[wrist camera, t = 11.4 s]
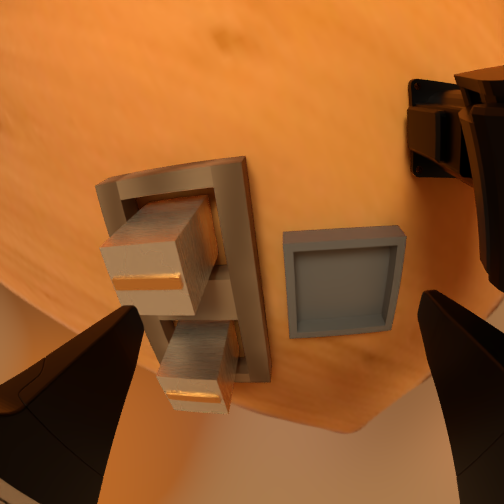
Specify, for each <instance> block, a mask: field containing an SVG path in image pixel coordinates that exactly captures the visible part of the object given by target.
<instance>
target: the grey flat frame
mask: <svg viewBox="0 0 504 504" xmlns="http://www.w3.org/2000/svg"><path fill="white" fill-rule="evenodd" d="M211 187H214V192H215V198H216V204H217V210H218V215H219V221H220V227H221V233H222V238H223V244H224V249H225V255H226V260H227V265H214V266H213V269H212V271H211V274H210V277H209V279H208V282H207V285H206V287H205V290H204V293H203V295H202V298H201V301H200V303H199V306H198V309H197V311H196V314H195V315H140V317H141V319H142V322H143V325H144V330H145V333H146V335H147V337H148V339H149V342H150V344H151V346H152V348H153V350H154V353H155V355H156V357H157V359H158V361H159V363H160V365H161V362H162V360H163V357H164V355H165V352H166V350H167V347H168V345H169V343H170V340H171V338H172V335H173V333H174V330H175V327H174V324H173V321H172V320H238V323H239V328H240V333H241V338H242V343H243V348H244V353H245V357H238V363H237V368H236V374H235V380H234V382H271V368H272V365H271V357H270V349H269V340H268V332H267V324H266V316H265V308H264V300H263V292H262V284H261V276H260V268H259V260H258V252H257V244H256V236H255V228H254V220H253V213H252V205H251V197H250V189H249V182H248V174H247V166H246V158H245V156H240V157H231V158H223V159H215V160H208V161H200V162H193V163H187V164H180V165H174V166H168V167H162V168H156V169H151V170H145V171H140V172H135V173H129V174H125V175H120V176H115V177H110V178H108V179H106V180H104V181H103V182H101V183H99V184H97V185H96V186H95V188H96V192H97V196H98V200H99V203H100V207H101V210H102V214H103V217H104V221H105V224H106V227H107V230H108V234H109V237H111V236H112V235H113V234H114V233H115V232H116V231H117V230H118V229H119V228H121V227H122V226H123V225H124V224H125V223H126V222H127V221H128V220H129V219H130V218H131V217H133V216H134V215H135V214H136V213H137V212H138V211H139V210H138V206H137V202H136V198H137V197H143V196H150V195H157V194H164V193H171V192H178V191H186V190H194V189H202V188H211Z"/></svg>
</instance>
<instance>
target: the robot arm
mask: <svg viewBox="0 0 504 504" xmlns="http://www.w3.org/2000/svg"><path fill="white" fill-rule="evenodd" d="M454 77H455V80H456V83H457V85H456V84H450V83H444V82H437V81H430V80H422V79H412V80H410V82H409V85H408V87H409V102H410V107H409V108H408V109H407V122H408V147H409V148H410V149H411V172H412V174H414V175H415V176H416V177H440V178H458V179H460V180H461V181H463V182H465V183H466V184H468V185H470V186H471V187H473V188H474V193H475V201H476V209H477V219H478V232H479V249H480V260H481V262H482V264H483V266H484V268H485V270H486V272H487V273H488V274H489V279H488V280H489V281H490V283H492V284H493V285H494V286H495V287H496V288H497V289H498V290H500V291H502V292H504V65H503V66H497V67H491V68H485V69H480V70H474V71H469V72H464V73H460V74H455V75H454ZM415 83H417V84H418V86H419V88H418V90H416V89H415V87H414V84H415ZM418 166H420V171H419V172H416V168H417V167H418ZM418 322H419V326H420V330H421V334H422V338H423V343H424V347H425V352H426V356H427V360H428V364H429V367H430V370H431V373H432V377H433V380H434V383H435V386H436V390H437V393H438V397H439V400H440V404H441V408H442V412H443V415H444V419H445V423H446V427H447V432H448V436H449V441H450V445H451V450H452V455H453V460H454V465H455V471H456V476H457V484H458V491H459V498H460V504H504V333H503V332H501V331H499V330H498V329H497V328H495V327H493V326H492V325H491V324H489V323H488V322H486V321H484V320H483V319H481V318H480V317H478V316H477V315H475V314H474V313H472V312H471V311H469V310H467V309H466V308H464V307H463V306H461V305H460V304H458V303H456V302H455V301H453V300H452V299H450V298H448V297H447V296H445V295H443V294H442V293H440V292H439V291H437V290H427V291H424V292H423V294H422V297H421V301H420V305H419V309H418ZM143 333H144V325H143V322H142V319H141V317H140V315H139V312H138V310H137V308H136V307H135V306H134V305H123V306H121V307H120V308H118V309H117V310H115V311H114V312H112V313H111V314H109V315H108V316H106V317H105V318H103V319H101V320H100V321H98V322H97V323H95V324H94V325H92V326H91V327H89V328H88V329H86V330H85V331H83V332H82V333H80V334H79V335H77V336H76V337H74V338H73V339H71V340H70V341H68V342H67V343H65V344H64V345H62V346H61V347H59V348H58V349H56V350H55V351H53V352H52V353H50V354H49V355H48V356H46V358H43V359H41V360H40V361H38V362H37V363H36V364H34V365H32V366H31V367H29V368H28V369H26V370H25V371H23V372H21V373H20V374H18V375H16V376H15V377H13V378H12V379H10V380H8V381H7V382H5V383H3V384H1V385H0V504H97V502H98V498H99V494H100V490H101V485H102V481H103V476H104V473H105V469H106V465H107V461H108V457H109V454H110V450H111V446H112V443H113V439H114V435H115V432H116V429H117V425H118V422H119V418H120V415H121V412H122V409H123V406H124V402H125V399H126V396H127V393H128V390H129V387H130V384H131V381H132V378H133V374H134V371H135V368H136V364H137V359H138V355H139V350H140V346H141V342H142V337H143Z"/></svg>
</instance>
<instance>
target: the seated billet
mask: <svg viewBox="0 0 504 504" xmlns="http://www.w3.org/2000/svg"><path fill="white" fill-rule="evenodd" d="M99 248H100V251H101V254H102V257H103V259H104V262H105V265H106V268H107V270H108V273H109V276H110V278H111V281H112V283H113V286H114V289H115V291H116V293H117V296H118V298H119V301H120V303H121V306H123V305H134V306H135V307H136V308H137V310H138V312H139V315H195V314H196V311H197V309H198V306H199V303H200V301H201V298H202V295H203V293H204V290H205V287H206V285H207V282H208V279H209V277H210V274H211V271H212V269H213V266H214V264H215V261H216V258H217V256H218V253H219V252H218V246H217V241H216V236H215V230H214V225H213V219H212V214H211V208H210V203H209V197H208V195H199V196H190V197H182V198H174V199H166V200H159V201H152V202H148V203H147V204H146V205H145V206H144V207H143V208H142V209H140V210H139V211H138V212H137V213H136V214H135V215H134V216H133V217H131V218H130V219H129V220H128V221H127V222H126V223H125V224H124V225H123V226H122V227H121V228H119V229H118V230H117V231H116V232H115V233H114V234H113V235H112V236H111V237H110V238H109V239H108V240H107V241H106V242H105V243H104V244H103V245H102V246H100V247H99Z"/></svg>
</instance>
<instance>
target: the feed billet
mask: <svg viewBox="0 0 504 504" xmlns="http://www.w3.org/2000/svg"><path fill="white" fill-rule="evenodd" d="M239 351H240V349H239V344H238V340H237V335H236V330H235V326H234V321H233V320H179V321H178V323H177V326H176V328H175V330H174V333H173V335H172V338H171V340H170V343H169V345H168V347H167V350H166V352H165V355H164V357H163V360H162V362H161V365H160V367H159V370H158V372H157V375H156V377H157V379H158V381H159V383H160V385H161V386H162V388H163V390H164V392H165V394H166V396H167V397H168V399H169V401H170V403H171V404H172V406H173V408H174V409H175V410H181V411H192V412H203V413H217V414H229V409H230V403H231V397H232V391H233V386H234V380H235V374H236V368H237V363H238V357H239Z"/></svg>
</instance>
